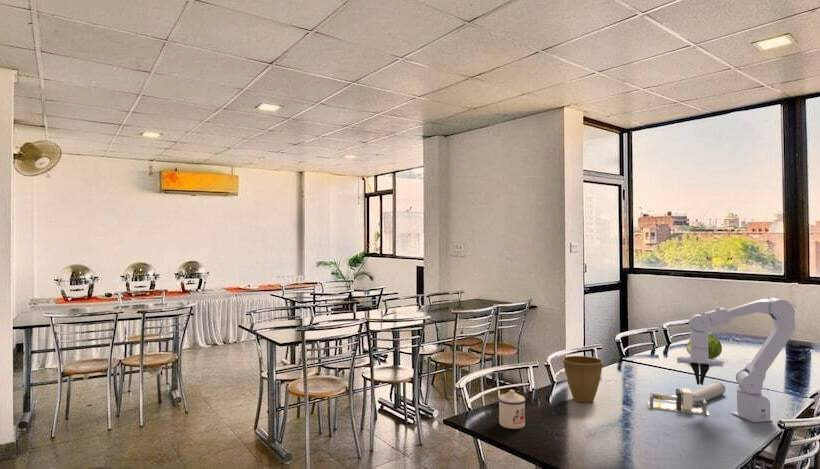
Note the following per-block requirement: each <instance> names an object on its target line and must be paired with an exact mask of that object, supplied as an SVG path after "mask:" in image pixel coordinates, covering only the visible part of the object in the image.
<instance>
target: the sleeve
mask: <svg viewBox="0 0 820 469" xmlns="http://www.w3.org/2000/svg"><path fill="white" fill-rule="evenodd" d="M692 391H693V390H691V388H684V387H681V389H680V392H681V397H683V402H681V405H682V407H683V409H687V410H693V403H692Z"/></svg>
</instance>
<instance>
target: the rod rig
mask: <svg viewBox="0 0 820 469" xmlns="http://www.w3.org/2000/svg"><path fill="white" fill-rule="evenodd" d="M648 395H649V400H648V401H647V405H648V408H649V409H654V410H663V411H670V412H678V413H687V414H695V415H703V416H704V415H705V416H710V413H709V411H708V406H707V404H708V403H707V401H705V399H703V398H701V399H699V398H692V403H693V404H699V405H701V406H700V407H699V406H693V410H687V409H683V407H682V404H681V409H682V410H679V409H678V408H677V406H676V402H677V396H676V395H672V394H671V395H670V394H662V393H653V392H649V394H648ZM654 400H657V401H658V402H656V401H654ZM659 401H667V402H675V403H667V402H659ZM681 402H683V397H681Z"/></svg>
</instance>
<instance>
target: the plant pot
mask: <svg viewBox="0 0 820 469" xmlns="http://www.w3.org/2000/svg"><path fill="white" fill-rule="evenodd" d="M562 362H563V367H564V372H565V377H566V380H567V384H568V387H569V391H570V394H571V396H572V398H573V400H574V401H575V402H578V403H585V404H590V403H592V402H594V400H595V398H596V395H597V392H598V390H599V385H600V381H601V377H602V370H603V362H604V361H603V360H602V359H600V358H596V357H594V356H593V357H592V356H586V355H570V356H569V355H568V356H565V357H563V359H562Z"/></svg>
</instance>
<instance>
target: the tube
mask: <svg viewBox="0 0 820 469" xmlns="http://www.w3.org/2000/svg"><path fill="white" fill-rule="evenodd" d="M691 391H692V398H699V399H701V398H703V399H705V401H706V402H708V401H710V399H711V400H713V399H715V398H717V397H719V396H723V395H725V393H726V386H725V385H724V384H723V382H719V381H714V382H713V383H710V384H707V385H705V386H704V385H703V386H702V387H699V388H697V389H694V390H691ZM699 405H700V404H693V406H694V407H698V406H699Z"/></svg>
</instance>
